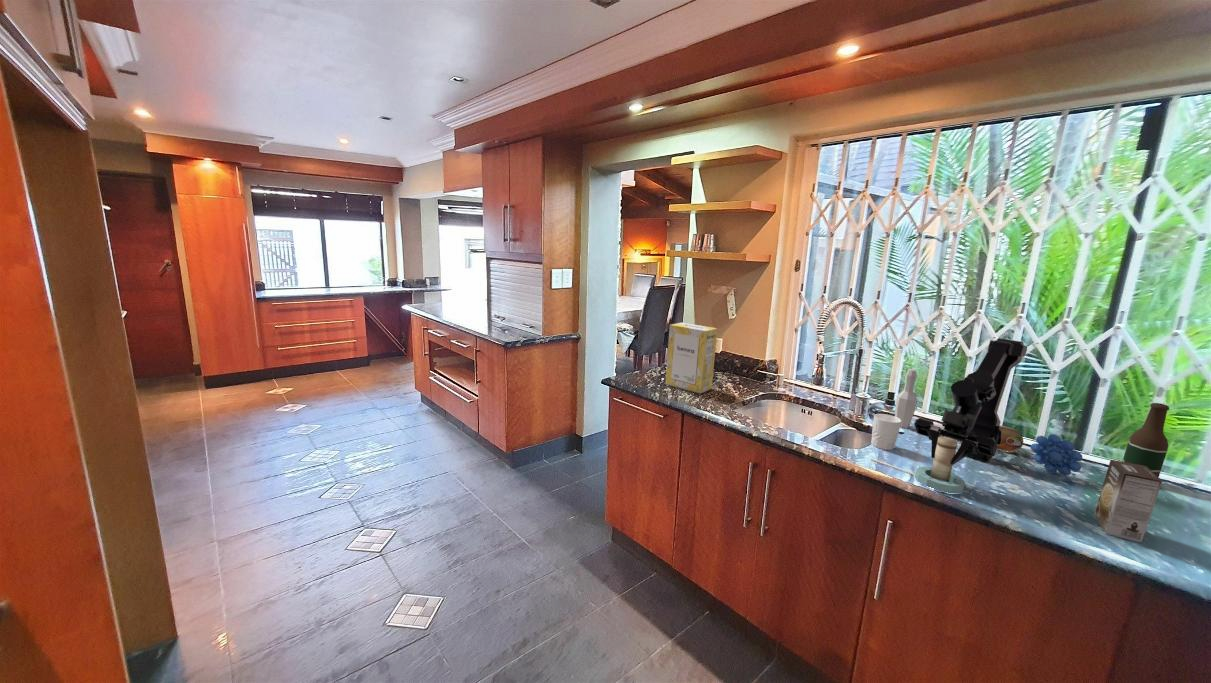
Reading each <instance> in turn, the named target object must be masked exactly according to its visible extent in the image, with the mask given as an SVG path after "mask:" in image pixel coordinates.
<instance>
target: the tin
mask: <svg viewBox="0 0 1211 683" xmlns="http://www.w3.org/2000/svg"><path fill="white" fill-rule="evenodd" d="M1000 427H1001V432H1002V440H1001V444H1000V445H999V444H996V445H997V449H1001V450H1004V451H1008V452H1011V453H1017V452H1018V451H1020V450H1021V449H1022V447H1023V445H1024V438H1023V435H1022V434H1021V432H1019V430H1017V429H1016V428H1012V427H1009V426H1005V425H1001V424H1000ZM993 438H994V437H993ZM1011 453H1010V454H1011Z"/></svg>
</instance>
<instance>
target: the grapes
mask: <svg viewBox="0 0 1211 683" xmlns="http://www.w3.org/2000/svg"><path fill="white" fill-rule="evenodd" d="M1035 442H1036V443H1032V444H1030V450H1031V451H1032V452H1033V453H1034V455H1033V460H1034V461H1035V462H1036V463H1037V464H1038V465H1043V467H1044V468H1043V469H1045V471H1046V472H1048V473H1050V472H1052V473H1053V474H1054V473H1056V472H1058V473H1059V474H1060V475H1062V476H1066V477H1067V476H1070V475H1071V474H1072V471H1073V472H1080V471H1081V469H1082V465H1081V464H1080V461H1082V460H1083V454H1082V453H1081V452H1079V451H1078V450H1075V444H1074V443H1073V442H1072V441H1070V440H1069V439H1064V440H1062V438H1061V437H1060V436H1059V435H1057V434H1049V435H1048V437H1046V436H1044V435H1038V436H1036V438H1035ZM1052 473H1051V474H1052Z"/></svg>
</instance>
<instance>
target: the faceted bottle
mask: <svg viewBox="0 0 1211 683" xmlns="http://www.w3.org/2000/svg"><path fill="white" fill-rule="evenodd" d="M917 376H918V374H917V369H913V368H909V369H907V371H906V373H905V381H904V382H905V383H904V388H903V390H902V391H901V392H899V394H897V395H896V398H895V400H896V401H895V404H894V416H895V417H897V418H899V419H901V425H900V428H901V427H903V429H909V428H910V427H911V426H910V425H911V423H912V419H913V418H914V414H915V412H916V408H917V402H918V398H917V396H916V395H915V393H914V388H915V383H916V380H917Z"/></svg>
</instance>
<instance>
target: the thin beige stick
mask: <svg viewBox="0 0 1211 683" xmlns="http://www.w3.org/2000/svg"><path fill="white" fill-rule="evenodd" d="M871 461H873V462H875V463H877V464H881V465H883V466H885V467H886V466H887V467H888V466H889V467H888V468H891V467H892V468H891V469H894V470H897V471H899V470H901V471H900V472H902V471H904V472H903V473H905V472H907V473H906V474H908V473H909V474H908V475H911V474H912V475H911V476H913V475H915V473H916V472H915V473H914V472H912V471H910V470H909V471H908V470H906V469H903V468H901V467H898V466H896V465H895V466H894V465H893V464H889V463H886V462H884V461H881V460H878V459H875V458H873V457H872V458H871Z"/></svg>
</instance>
